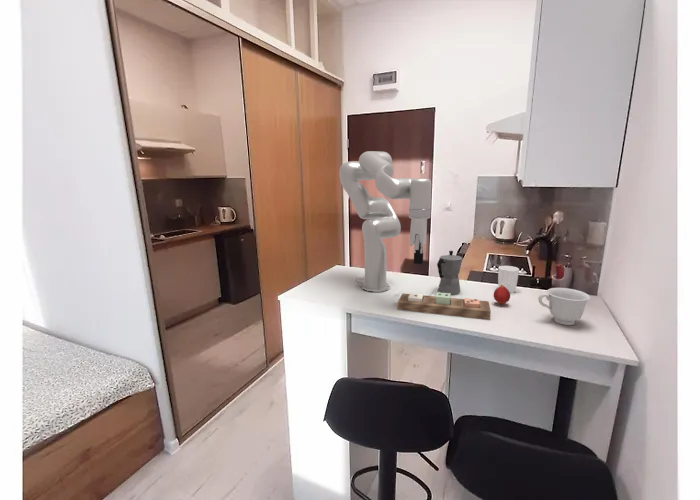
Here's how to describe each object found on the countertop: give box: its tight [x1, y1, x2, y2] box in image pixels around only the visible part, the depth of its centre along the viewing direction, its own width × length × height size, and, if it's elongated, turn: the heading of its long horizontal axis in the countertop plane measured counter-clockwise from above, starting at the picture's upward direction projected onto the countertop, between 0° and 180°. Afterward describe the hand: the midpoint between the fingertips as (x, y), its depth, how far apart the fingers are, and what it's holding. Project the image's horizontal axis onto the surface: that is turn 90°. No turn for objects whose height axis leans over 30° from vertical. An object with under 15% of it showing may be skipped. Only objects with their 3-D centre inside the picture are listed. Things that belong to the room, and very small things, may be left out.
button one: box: [408, 292, 424, 302], centre depth 125 cm, size 5×5×3 cm
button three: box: [463, 297, 480, 308], centre depth 119 cm, size 5×5×3 cm
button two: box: [435, 291, 452, 305], centre depth 122 cm, size 5×5×3 cm
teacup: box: [537, 287, 591, 326], centre depth 110 cm, size 12×15×10 cm
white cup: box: [497, 265, 520, 294], centre depth 141 cm, size 8×8×10 cm
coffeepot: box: [436, 250, 463, 296], centre depth 139 cm, size 15×9×18 cm, turn 129°
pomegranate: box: [493, 285, 511, 306], centre depth 126 cm, size 6×6×8 cm
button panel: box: [397, 293, 492, 321], centre depth 123 cm, size 32×10×3 cm, turn 72°
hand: (418, 263), depth 122 cm, fingers closed
